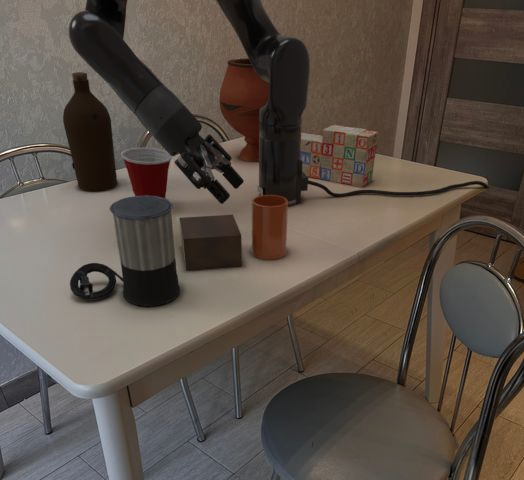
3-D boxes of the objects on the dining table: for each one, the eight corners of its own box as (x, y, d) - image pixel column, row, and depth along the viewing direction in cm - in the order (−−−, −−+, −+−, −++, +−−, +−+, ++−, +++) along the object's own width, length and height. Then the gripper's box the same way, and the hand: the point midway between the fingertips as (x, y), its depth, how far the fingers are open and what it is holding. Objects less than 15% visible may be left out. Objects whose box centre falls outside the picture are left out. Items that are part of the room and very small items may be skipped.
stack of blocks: (288, 173, 142) (290, 124, 135) (299, 167, 146) (301, 120, 139) (363, 187, 133) (369, 135, 126) (372, 181, 137) (379, 130, 130)
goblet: (301, 157, 155) (305, 60, 141) (255, 171, 143) (255, 67, 129) (254, 145, 166) (254, 54, 151) (207, 157, 154) (203, 59, 140)
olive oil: (128, 182, 135) (113, 71, 120) (103, 194, 126) (84, 78, 112) (93, 177, 138) (74, 68, 124) (66, 189, 130) (43, 74, 115)
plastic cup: (167, 218, 115) (161, 161, 108) (120, 214, 116) (112, 157, 109) (183, 201, 123) (179, 147, 116) (139, 197, 125) (132, 144, 118)
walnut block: (233, 244, 104) (232, 214, 100) (241, 266, 96) (241, 234, 92) (182, 247, 102) (179, 217, 99) (186, 270, 94) (183, 238, 91)
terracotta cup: (281, 244, 104) (283, 193, 98) (289, 258, 99) (291, 205, 93) (249, 246, 103) (249, 195, 97) (255, 260, 98) (255, 207, 92)
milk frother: (191, 297, 86) (184, 208, 78) (97, 326, 79) (78, 231, 70) (152, 265, 96) (142, 183, 87) (65, 289, 88) (45, 201, 80)
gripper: (165, 113, 84) (236, 191, 88) (196, 97, 95) (258, 167, 99) (138, 145, 88) (207, 219, 92) (171, 127, 99) (231, 193, 103)
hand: (233, 192), depth 96 cm, fingers open, 8 cm apart
